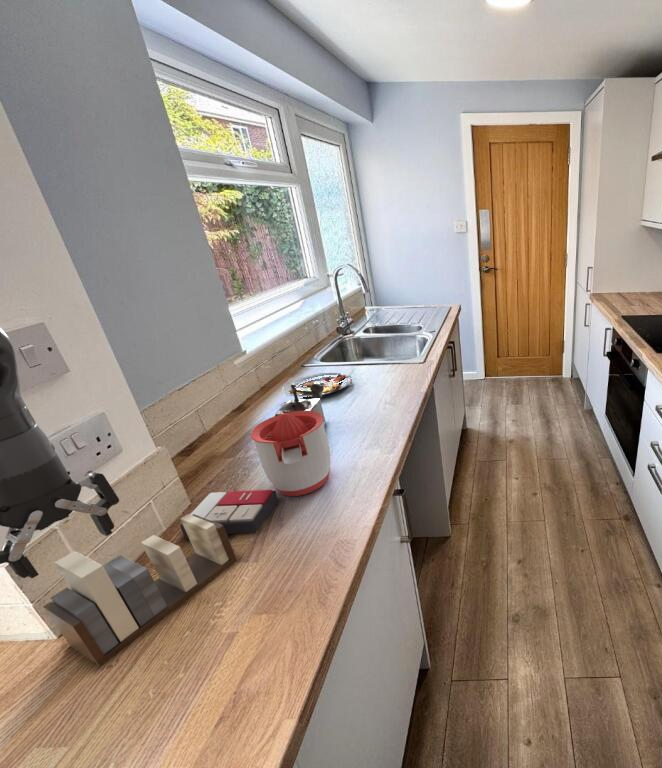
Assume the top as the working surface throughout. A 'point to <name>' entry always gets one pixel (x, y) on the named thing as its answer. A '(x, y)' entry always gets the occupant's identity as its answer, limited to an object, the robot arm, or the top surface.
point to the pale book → (97, 592)
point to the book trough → (144, 588)
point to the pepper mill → (305, 401)
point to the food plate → (327, 389)
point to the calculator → (237, 510)
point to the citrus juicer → (294, 451)
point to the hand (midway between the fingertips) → (71, 553)
